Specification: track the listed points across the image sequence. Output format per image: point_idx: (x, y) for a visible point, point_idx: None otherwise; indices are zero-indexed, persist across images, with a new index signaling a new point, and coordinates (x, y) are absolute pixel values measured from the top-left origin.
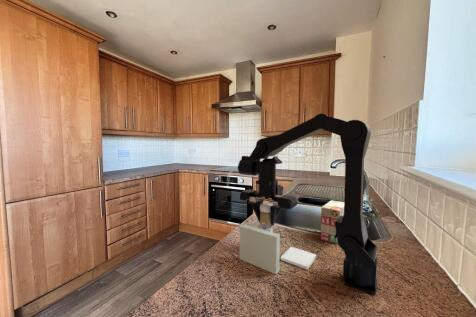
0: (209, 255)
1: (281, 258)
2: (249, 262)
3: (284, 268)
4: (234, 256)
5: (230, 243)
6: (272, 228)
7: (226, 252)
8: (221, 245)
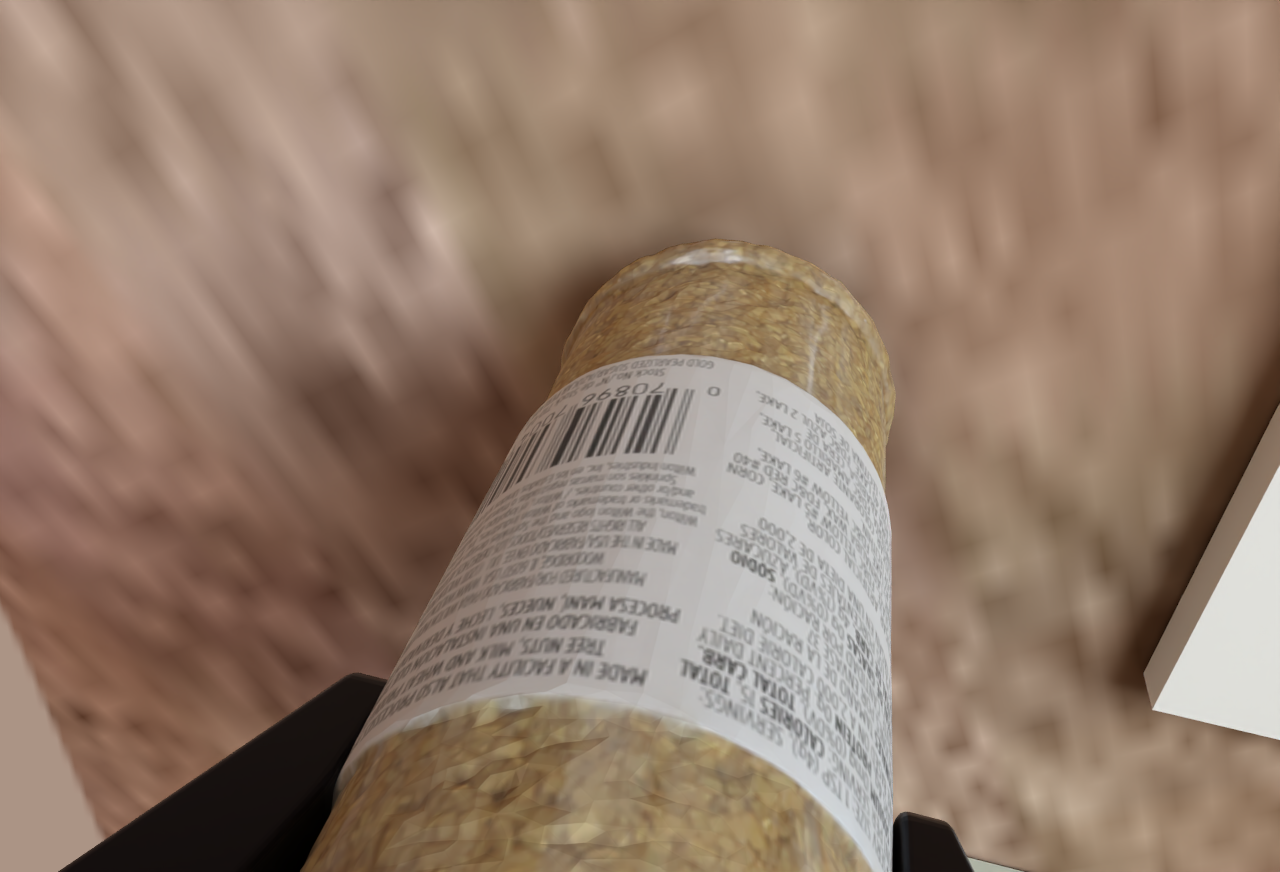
0: None
1: (1169, 701)
2: None
3: (1234, 845)
4: None
5: (76, 477)
6: (891, 721)
7: (237, 727)
8: (22, 585)
